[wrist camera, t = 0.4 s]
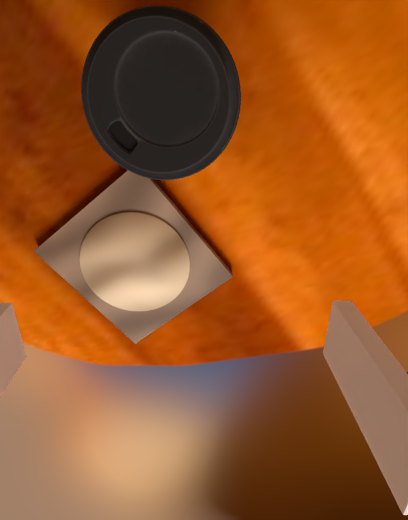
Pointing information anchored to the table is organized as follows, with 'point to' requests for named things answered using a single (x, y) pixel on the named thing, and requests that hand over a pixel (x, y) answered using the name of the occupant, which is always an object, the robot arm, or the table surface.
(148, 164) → the coffee cup
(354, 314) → the robot arm
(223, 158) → the table surface
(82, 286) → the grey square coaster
